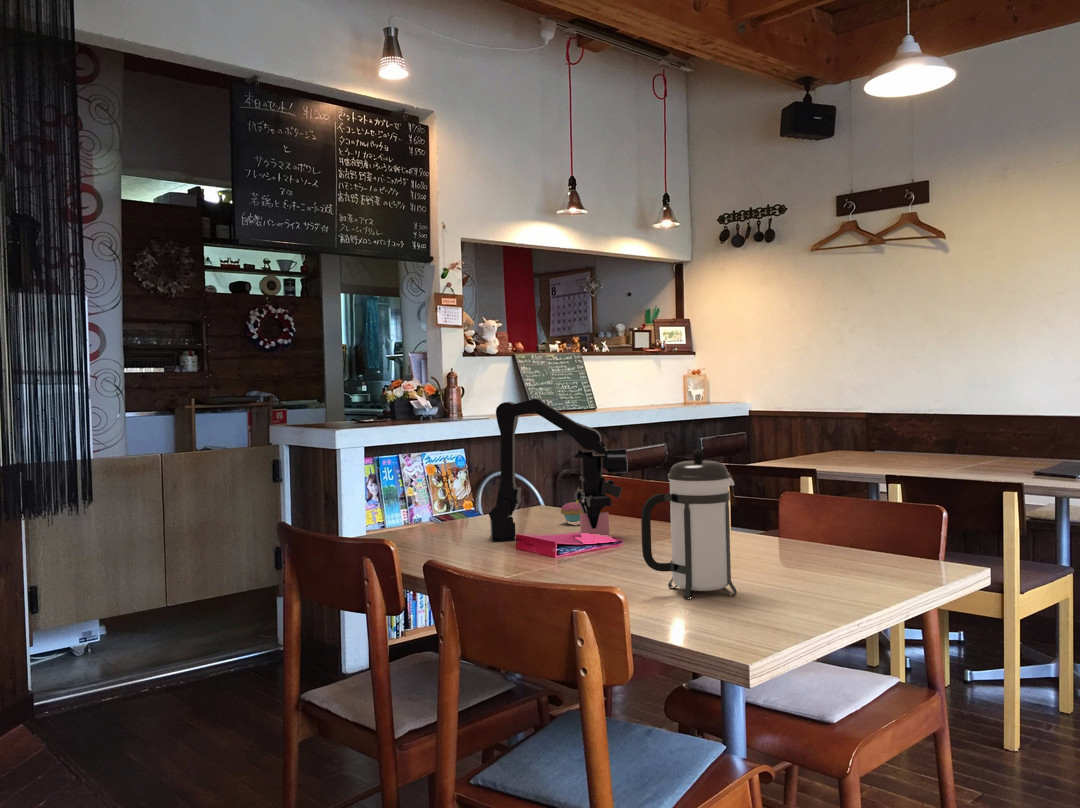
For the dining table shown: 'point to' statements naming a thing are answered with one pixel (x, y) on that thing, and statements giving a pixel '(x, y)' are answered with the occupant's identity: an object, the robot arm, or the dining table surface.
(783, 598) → the dining table surface
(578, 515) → the cupcake
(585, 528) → the pink rectangular block
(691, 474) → the coffee press
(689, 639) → the dining table surface
